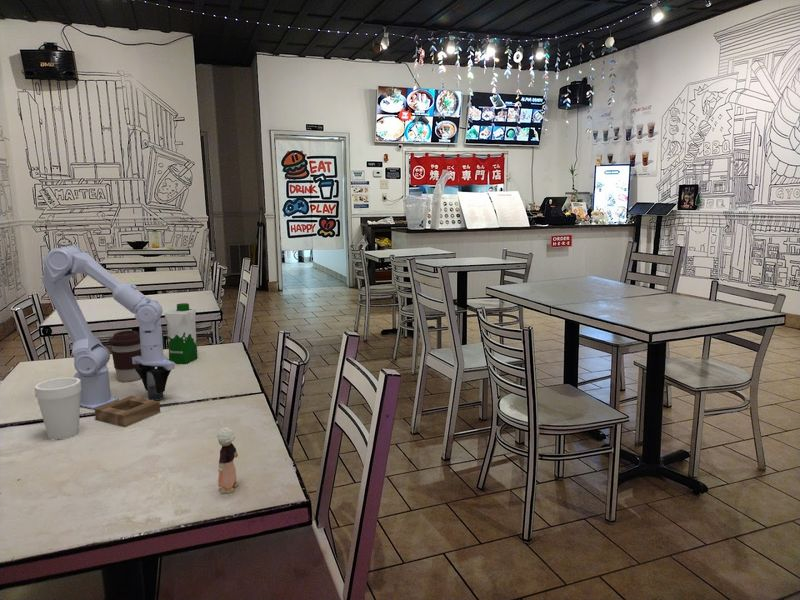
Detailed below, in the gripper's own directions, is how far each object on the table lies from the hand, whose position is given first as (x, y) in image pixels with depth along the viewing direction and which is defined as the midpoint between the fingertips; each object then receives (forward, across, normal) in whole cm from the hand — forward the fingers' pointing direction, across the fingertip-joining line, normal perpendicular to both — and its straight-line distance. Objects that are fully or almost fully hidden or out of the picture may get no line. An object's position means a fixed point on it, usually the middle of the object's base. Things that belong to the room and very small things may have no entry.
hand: (155, 390), depth 161 cm
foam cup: (+3, 0, +27) cm, 27 cm away
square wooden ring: (+3, -4, +12) cm, 13 cm away
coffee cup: (+3, +23, -10) cm, 25 cm away
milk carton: (+3, +23, -32) cm, 40 cm away
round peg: (+2, 0, 0) cm, 2 cm away
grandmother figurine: (+3, -54, +30) cm, 62 cm away
